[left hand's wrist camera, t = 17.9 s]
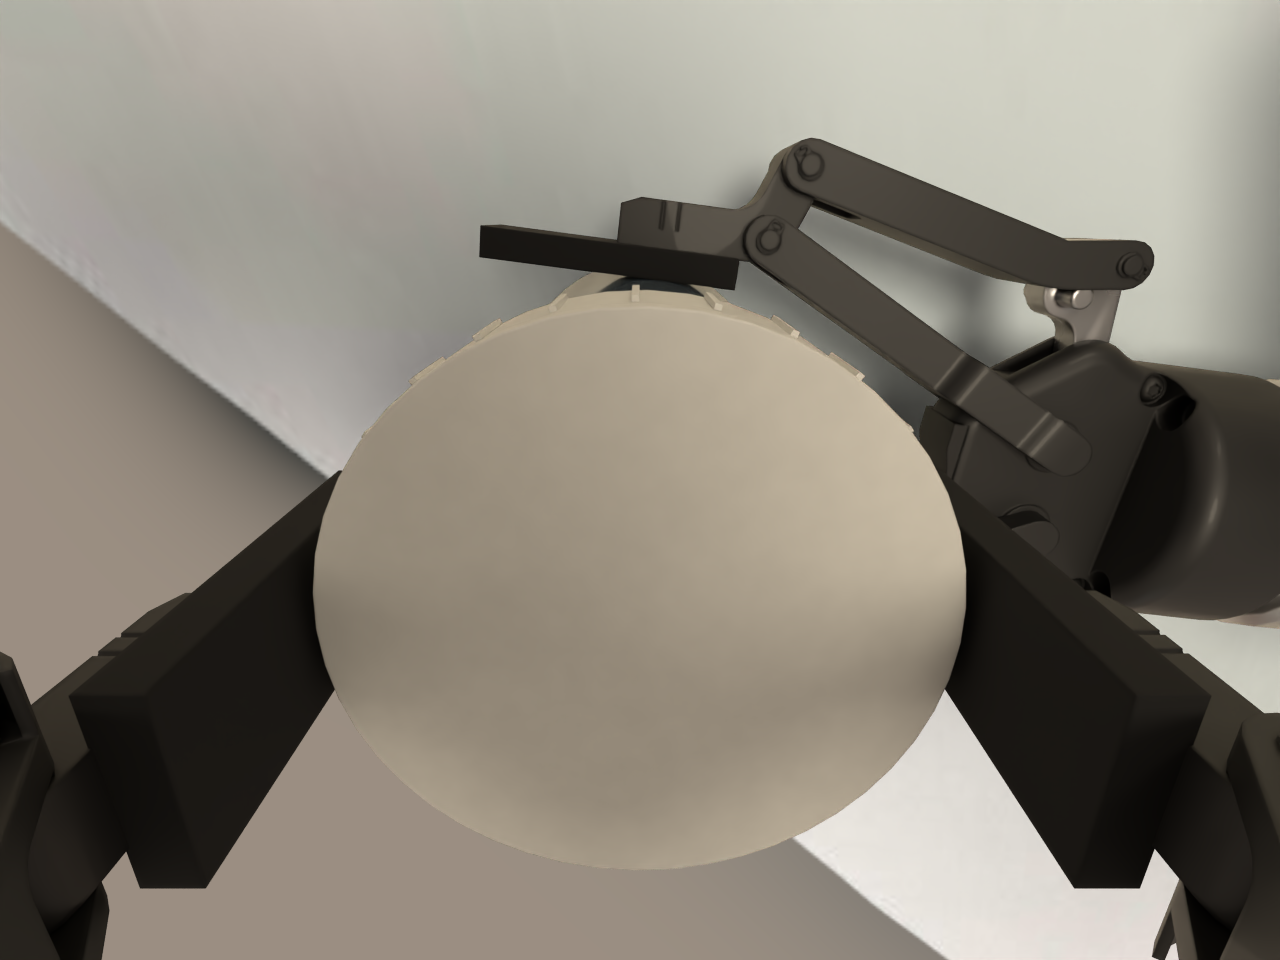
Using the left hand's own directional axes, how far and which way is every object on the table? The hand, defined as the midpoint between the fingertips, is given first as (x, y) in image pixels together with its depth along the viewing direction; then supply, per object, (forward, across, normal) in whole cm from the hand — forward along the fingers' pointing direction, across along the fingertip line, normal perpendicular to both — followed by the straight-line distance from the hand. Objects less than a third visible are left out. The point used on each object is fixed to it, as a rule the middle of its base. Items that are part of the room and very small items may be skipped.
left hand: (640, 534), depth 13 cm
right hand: (+7, -5, +1) cm, 9 cm away
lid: (-3, 0, 0) cm, 3 cm away
